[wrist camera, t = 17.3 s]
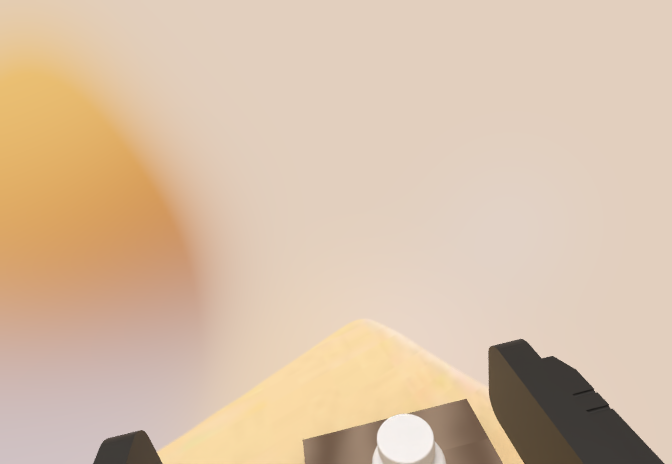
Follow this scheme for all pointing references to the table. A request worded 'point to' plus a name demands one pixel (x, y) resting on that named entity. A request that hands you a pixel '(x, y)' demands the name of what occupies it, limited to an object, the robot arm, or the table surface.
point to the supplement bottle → (406, 442)
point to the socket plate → (445, 421)
